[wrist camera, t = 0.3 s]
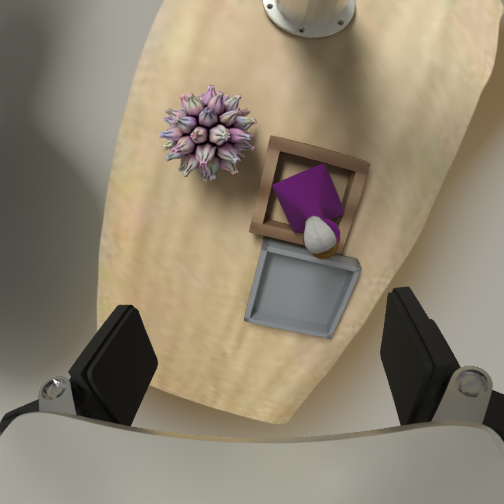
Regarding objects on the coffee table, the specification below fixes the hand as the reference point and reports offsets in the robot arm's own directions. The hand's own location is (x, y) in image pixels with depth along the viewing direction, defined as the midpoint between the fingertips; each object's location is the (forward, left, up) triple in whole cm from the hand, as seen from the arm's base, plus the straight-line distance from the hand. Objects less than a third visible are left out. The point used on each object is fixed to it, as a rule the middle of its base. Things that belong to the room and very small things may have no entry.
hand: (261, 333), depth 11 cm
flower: (-3, -9, -34) cm, 36 cm away
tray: (+18, +8, -34) cm, 39 cm away
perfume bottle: (+3, +5, -34) cm, 35 cm away
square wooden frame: (+3, +5, -34) cm, 34 cm away
